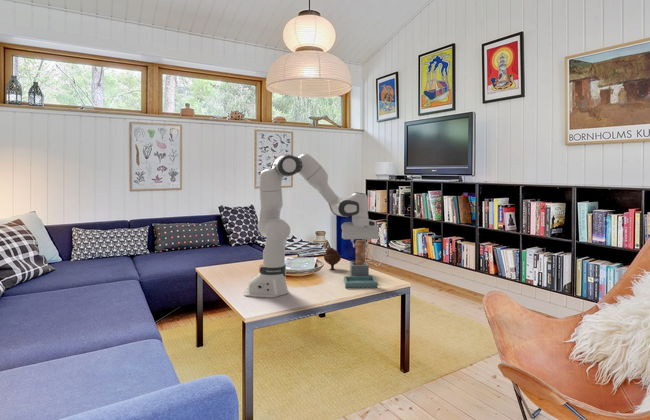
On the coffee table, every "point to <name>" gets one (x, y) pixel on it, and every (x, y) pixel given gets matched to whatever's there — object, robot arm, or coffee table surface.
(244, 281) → the coffee table surface
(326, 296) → the coffee table surface
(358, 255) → the peg
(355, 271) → the grey open square box
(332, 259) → the ice cream bowl
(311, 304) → the coffee table surface
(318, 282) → the coffee table surface
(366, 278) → the tray
